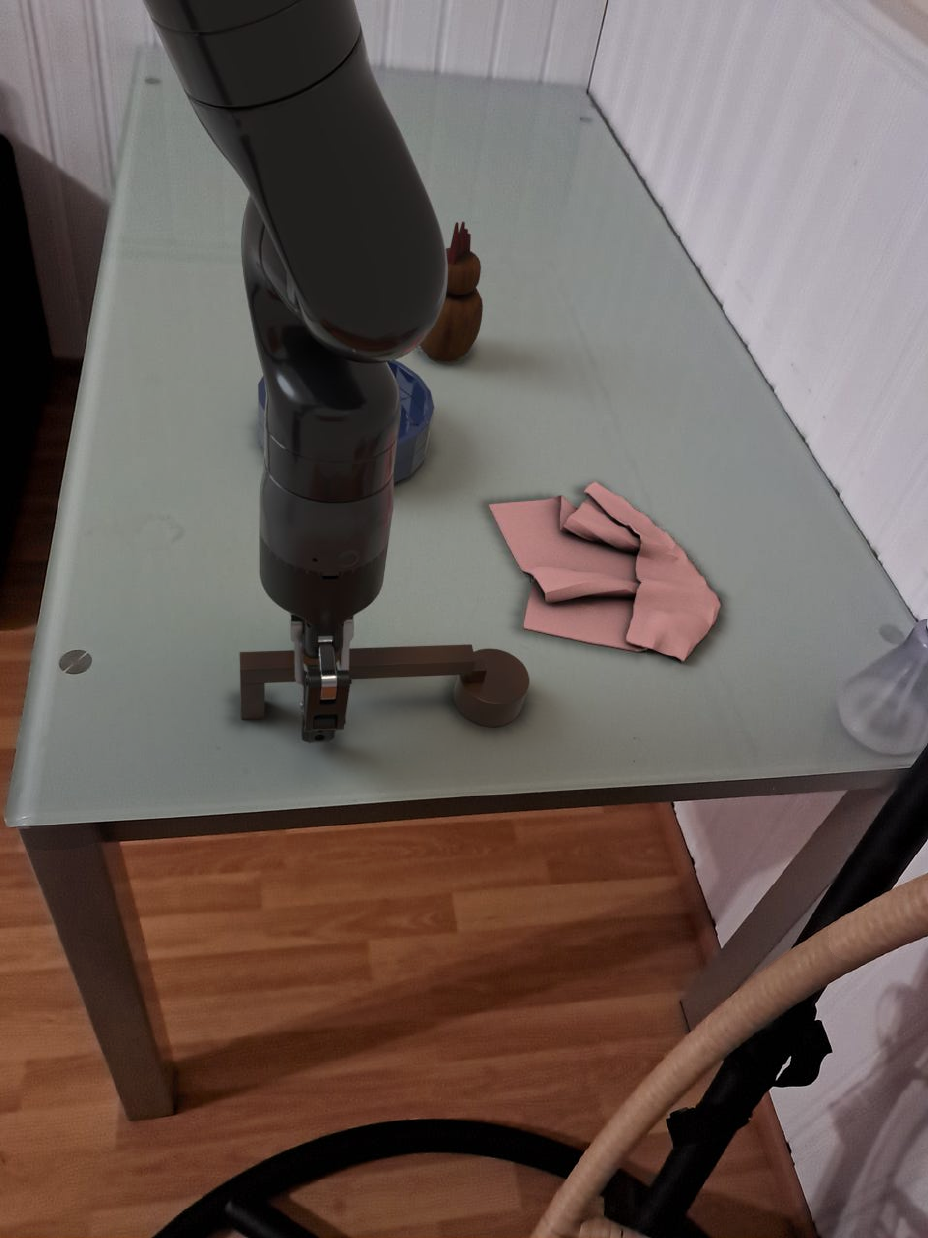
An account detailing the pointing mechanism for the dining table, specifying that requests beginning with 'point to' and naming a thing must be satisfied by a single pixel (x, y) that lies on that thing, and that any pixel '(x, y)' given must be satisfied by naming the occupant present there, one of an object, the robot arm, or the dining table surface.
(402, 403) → the bowl
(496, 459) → the dining table surface
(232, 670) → the dining table surface
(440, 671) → the ladle
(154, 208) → the dining table surface
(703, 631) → the cloth
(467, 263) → the wooden figurine
